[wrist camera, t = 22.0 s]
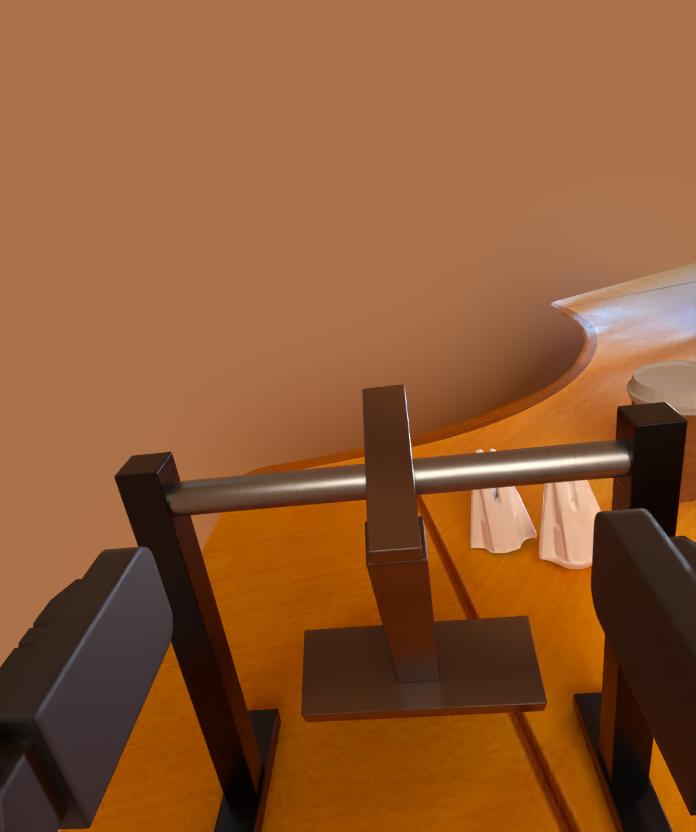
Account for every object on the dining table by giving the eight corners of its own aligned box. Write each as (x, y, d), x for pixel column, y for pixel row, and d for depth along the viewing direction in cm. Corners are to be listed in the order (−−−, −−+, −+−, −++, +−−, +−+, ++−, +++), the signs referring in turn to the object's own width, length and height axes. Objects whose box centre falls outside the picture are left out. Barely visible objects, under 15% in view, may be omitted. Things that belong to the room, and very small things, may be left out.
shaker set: (615, 559, 50) (621, 446, 45) (601, 588, 47) (607, 470, 42) (485, 525, 57) (480, 424, 52) (467, 548, 54) (460, 443, 49)
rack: (207, 889, 31) (62, 530, 21) (247, 722, 40) (157, 420, 30) (686, 881, 28) (754, 469, 19) (611, 704, 37) (632, 369, 28)
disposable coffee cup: (752, 496, 55) (771, 380, 50) (666, 521, 53) (677, 403, 49) (677, 455, 63) (688, 352, 59) (601, 475, 62) (606, 371, 57)
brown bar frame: (544, 711, 33) (601, 574, 19) (306, 722, 34) (207, 602, 21) (510, 552, 39) (535, 369, 26) (311, 568, 41) (238, 401, 27)
